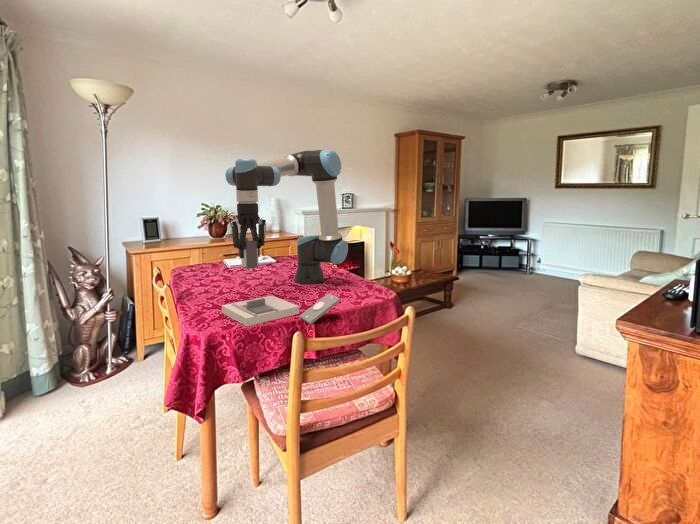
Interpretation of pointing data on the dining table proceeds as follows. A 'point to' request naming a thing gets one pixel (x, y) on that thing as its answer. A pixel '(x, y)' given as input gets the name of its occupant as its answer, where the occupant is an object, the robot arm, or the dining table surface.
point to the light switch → (319, 308)
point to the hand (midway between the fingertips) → (250, 265)
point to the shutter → (258, 306)
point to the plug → (251, 253)
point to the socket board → (249, 318)
